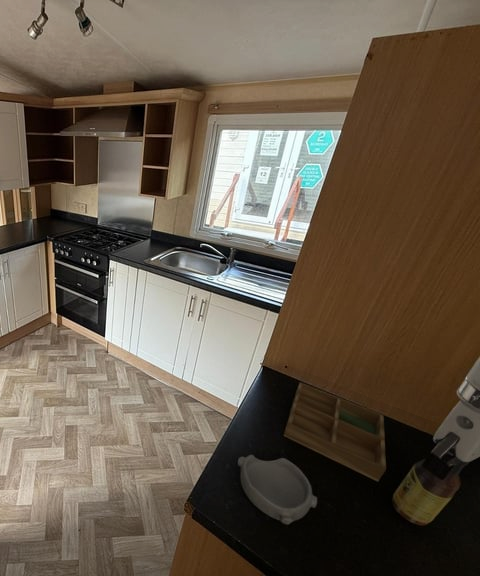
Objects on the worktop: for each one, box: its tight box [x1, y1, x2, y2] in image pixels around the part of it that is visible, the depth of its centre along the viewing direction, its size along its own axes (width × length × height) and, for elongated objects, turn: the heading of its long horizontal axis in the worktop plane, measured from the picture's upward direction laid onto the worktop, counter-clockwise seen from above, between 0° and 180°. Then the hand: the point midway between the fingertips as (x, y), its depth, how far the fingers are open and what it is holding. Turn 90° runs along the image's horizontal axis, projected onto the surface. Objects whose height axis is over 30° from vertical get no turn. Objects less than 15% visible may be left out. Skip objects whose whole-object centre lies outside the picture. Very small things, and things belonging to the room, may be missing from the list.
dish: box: [237, 454, 318, 526], centre depth 70 cm, size 14×14×5 cm
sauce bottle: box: [391, 447, 470, 526], centre depth 62 cm, size 7×6×20 cm
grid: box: [283, 381, 387, 482], centre depth 85 cm, size 20×20×5 cm
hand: (441, 467), depth 60 cm, fingers closed on sauce bottle, 4 cm apart
